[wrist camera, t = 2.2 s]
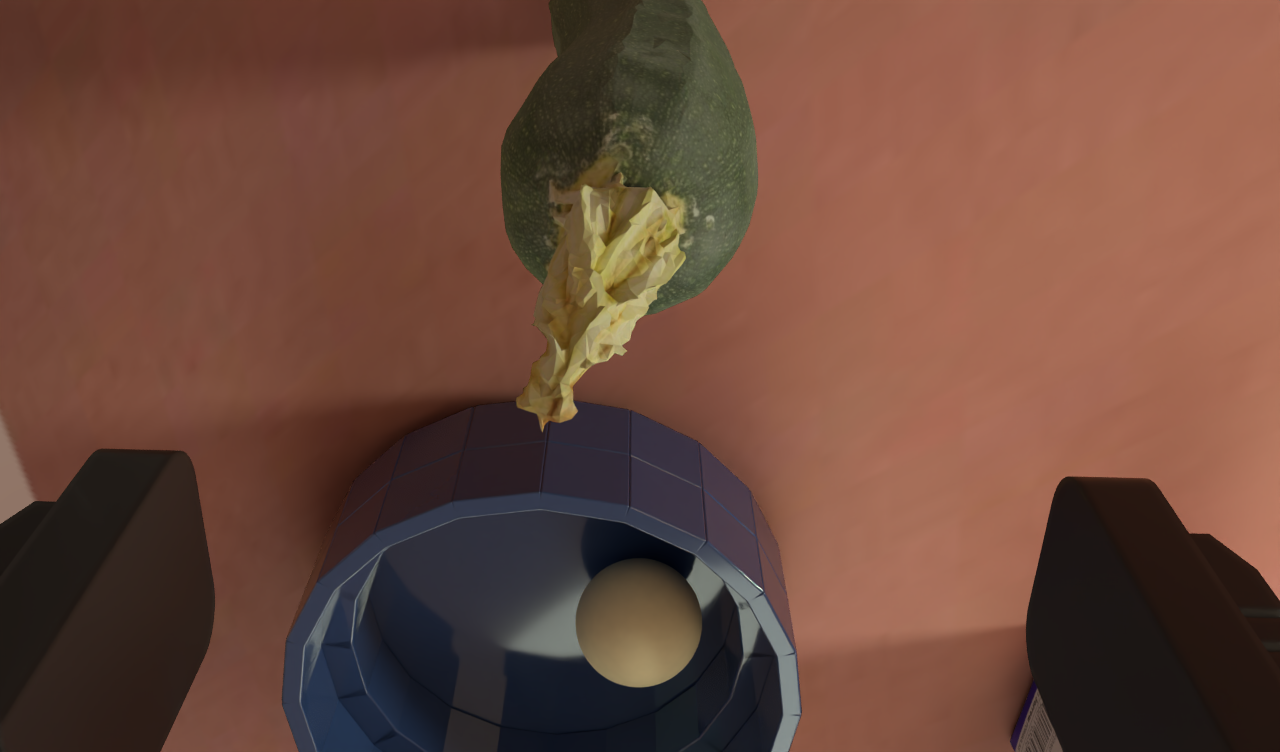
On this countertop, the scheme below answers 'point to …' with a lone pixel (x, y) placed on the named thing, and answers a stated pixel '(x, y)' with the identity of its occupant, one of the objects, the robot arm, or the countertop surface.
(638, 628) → the ball
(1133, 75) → the countertop surface
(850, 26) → the countertop surface
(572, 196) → the vegetable
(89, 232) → the countertop surface
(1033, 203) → the countertop surface
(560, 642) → the bowl
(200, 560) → the robot arm
